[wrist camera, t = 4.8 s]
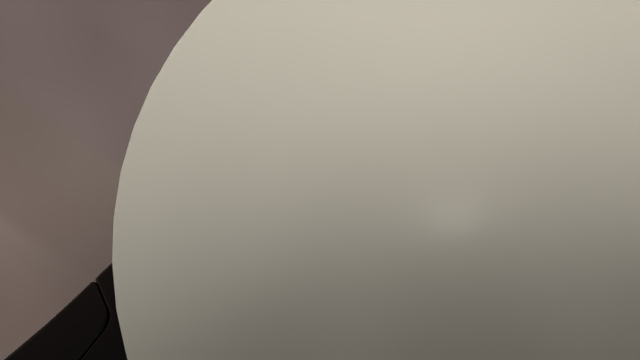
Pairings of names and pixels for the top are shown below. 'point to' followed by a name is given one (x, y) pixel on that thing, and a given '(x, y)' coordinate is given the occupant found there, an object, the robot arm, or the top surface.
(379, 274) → the sleeve
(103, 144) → the top surface
